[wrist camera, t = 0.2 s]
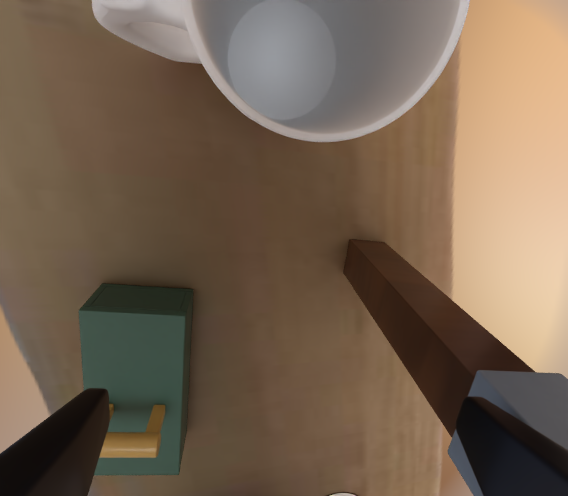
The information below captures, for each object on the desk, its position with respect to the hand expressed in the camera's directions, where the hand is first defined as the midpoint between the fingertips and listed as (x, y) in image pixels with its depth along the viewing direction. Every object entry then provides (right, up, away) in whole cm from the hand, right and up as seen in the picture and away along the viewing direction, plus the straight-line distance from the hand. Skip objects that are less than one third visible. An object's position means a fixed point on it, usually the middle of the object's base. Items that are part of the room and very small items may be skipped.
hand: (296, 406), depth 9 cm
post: (+5, +3, +15) cm, 16 cm away
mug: (-2, +14, +11) cm, 18 cm away
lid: (-9, -5, +13) cm, 17 cm away
